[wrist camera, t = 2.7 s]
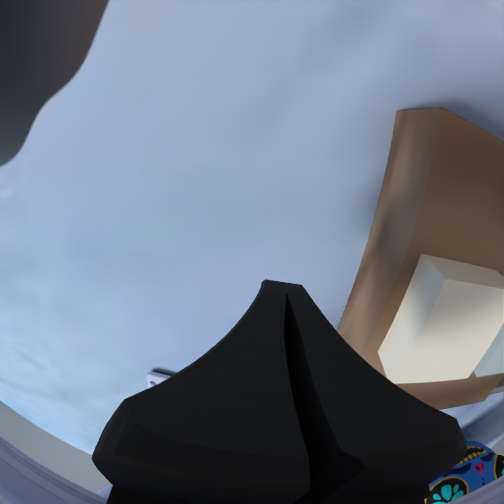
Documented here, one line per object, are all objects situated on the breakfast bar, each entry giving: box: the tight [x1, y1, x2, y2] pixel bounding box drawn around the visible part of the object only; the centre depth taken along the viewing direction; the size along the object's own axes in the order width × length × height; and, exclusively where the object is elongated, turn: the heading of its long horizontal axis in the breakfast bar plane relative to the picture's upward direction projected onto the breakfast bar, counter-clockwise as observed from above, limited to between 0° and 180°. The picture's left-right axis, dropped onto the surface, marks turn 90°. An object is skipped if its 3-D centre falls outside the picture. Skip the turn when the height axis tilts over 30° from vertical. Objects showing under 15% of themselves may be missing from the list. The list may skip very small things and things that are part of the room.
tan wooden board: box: [337, 107, 504, 410], centre depth 12 cm, size 16×14×4 cm
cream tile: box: [378, 254, 504, 384], centre depth 9 cm, size 5×5×2 cm
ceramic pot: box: [424, 441, 504, 504], centre depth 18 cm, size 18×18×15 cm
